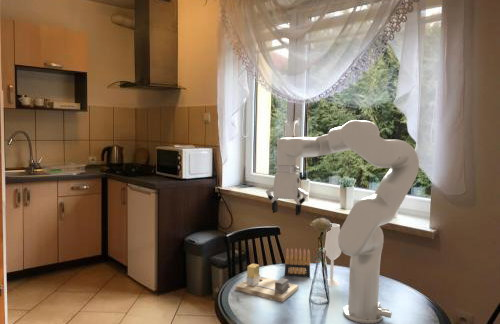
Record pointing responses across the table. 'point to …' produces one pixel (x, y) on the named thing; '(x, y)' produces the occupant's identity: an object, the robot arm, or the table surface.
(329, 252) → the champagne flute
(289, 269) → the ammunition clip
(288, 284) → the board
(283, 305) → the table surface
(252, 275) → the sliding leg
